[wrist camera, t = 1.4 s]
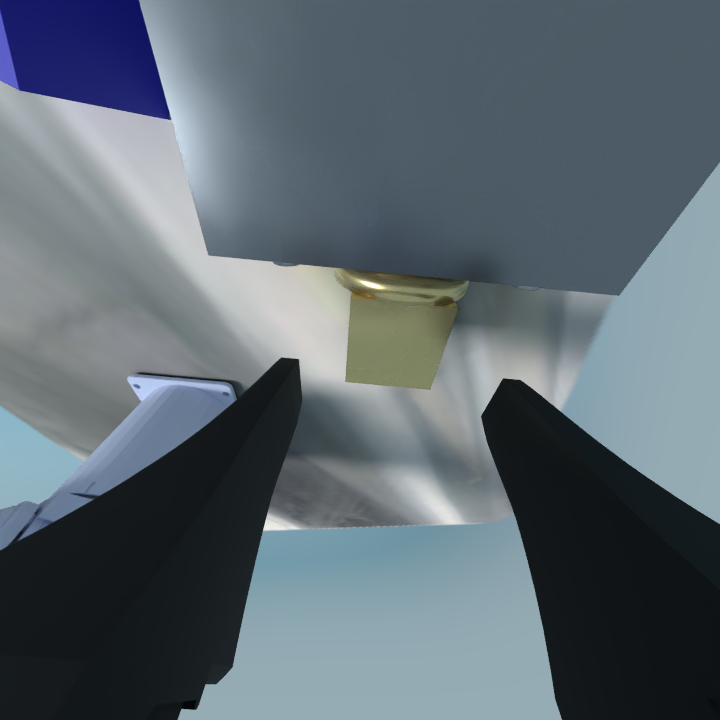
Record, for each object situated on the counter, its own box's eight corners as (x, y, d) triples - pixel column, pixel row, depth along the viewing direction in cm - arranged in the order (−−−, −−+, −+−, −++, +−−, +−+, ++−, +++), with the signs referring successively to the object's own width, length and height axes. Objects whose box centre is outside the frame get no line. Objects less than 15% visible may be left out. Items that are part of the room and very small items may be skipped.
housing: (510, 250, 13) (605, 313, 8) (281, 227, 13) (214, 276, 8) (631, -35, 8) (1179, -448, 3) (250, -81, 8) (-34, -632, 2)
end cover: (428, 326, 16) (451, 394, 11) (338, 318, 16) (324, 383, 11) (498, 87, 10) (612, 21, 5) (347, 70, 9) (323, -13, 5)
